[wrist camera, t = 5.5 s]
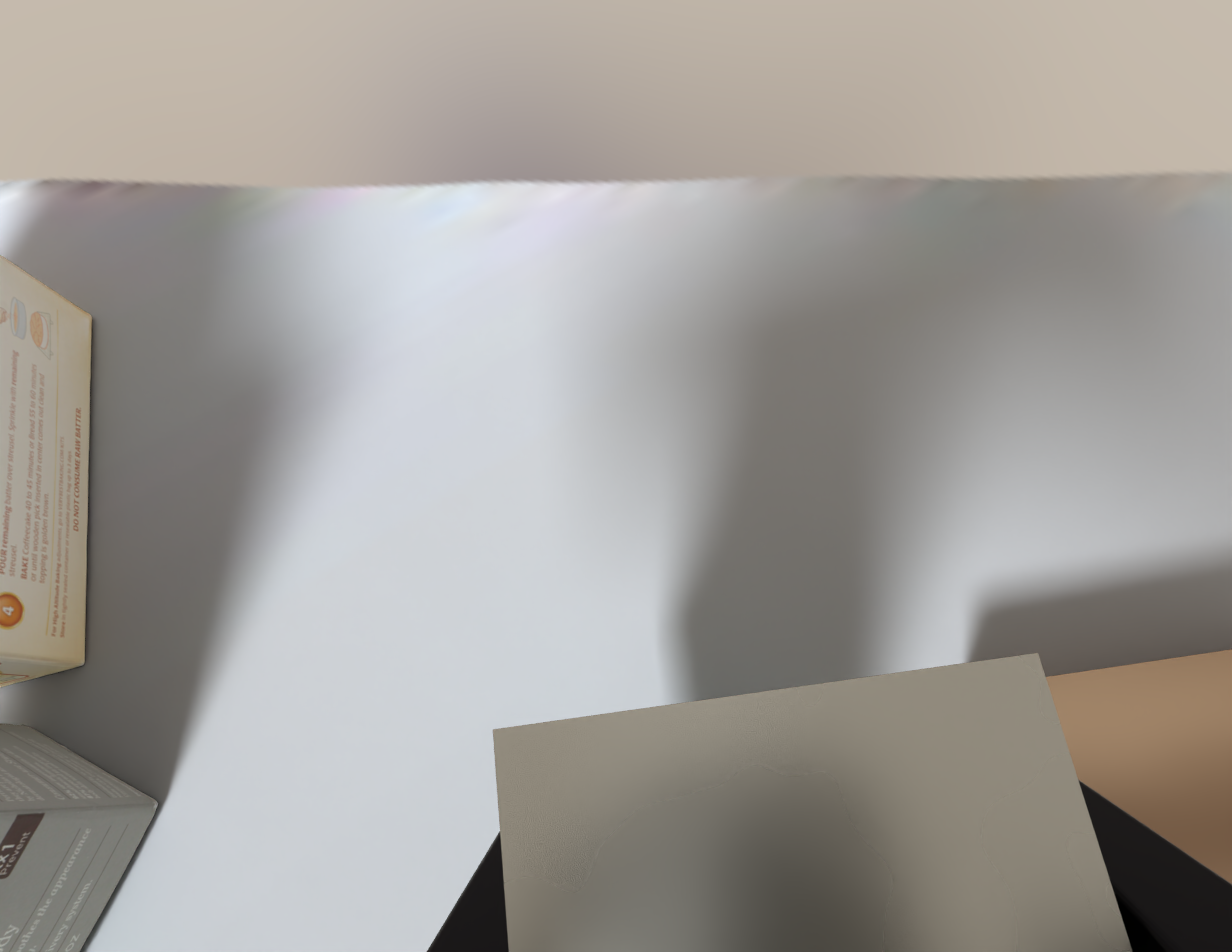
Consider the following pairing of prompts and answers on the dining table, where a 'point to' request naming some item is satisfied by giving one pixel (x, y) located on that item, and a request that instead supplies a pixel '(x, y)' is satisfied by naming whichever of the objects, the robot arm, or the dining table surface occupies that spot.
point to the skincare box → (60, 841)
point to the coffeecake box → (42, 477)
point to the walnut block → (1158, 746)
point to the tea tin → (808, 822)
